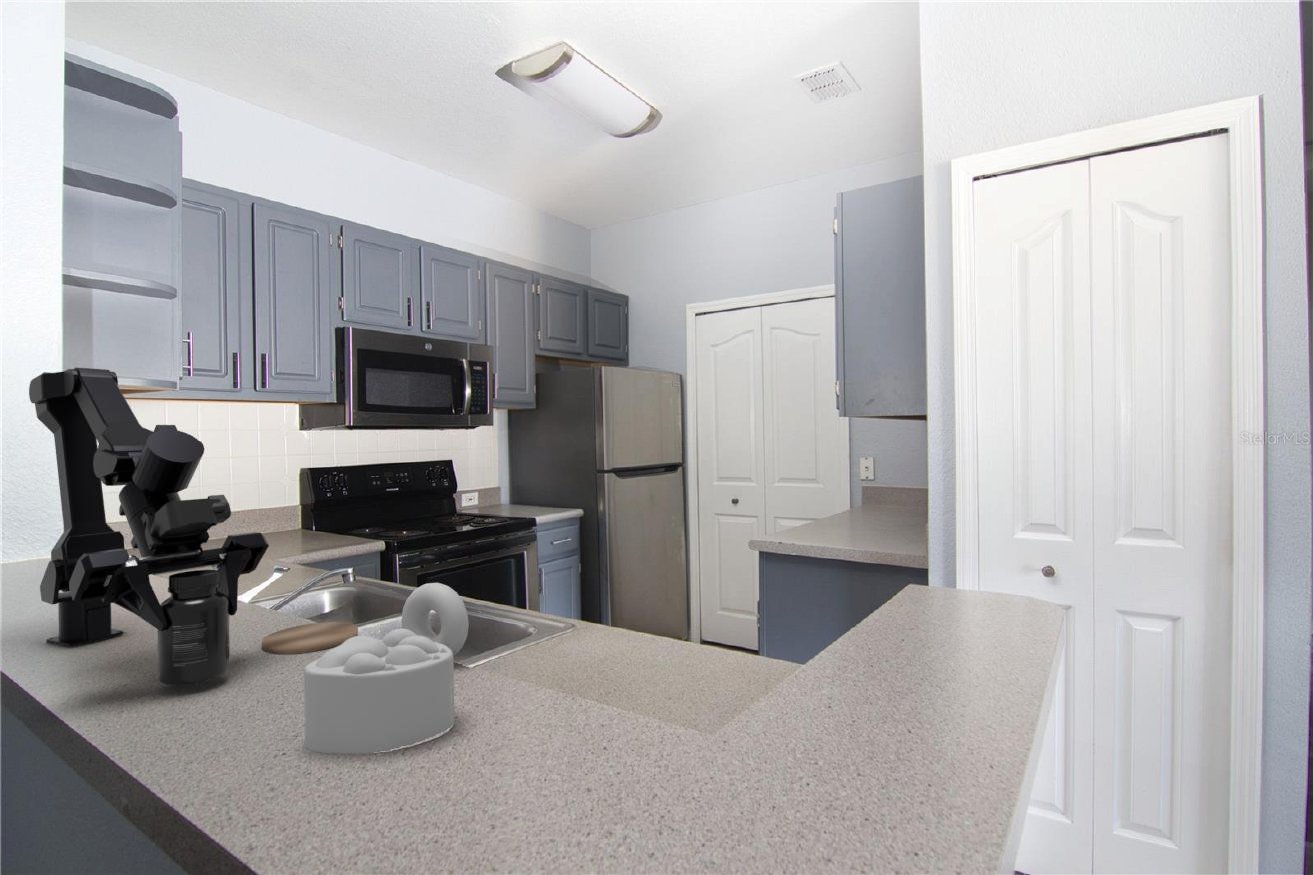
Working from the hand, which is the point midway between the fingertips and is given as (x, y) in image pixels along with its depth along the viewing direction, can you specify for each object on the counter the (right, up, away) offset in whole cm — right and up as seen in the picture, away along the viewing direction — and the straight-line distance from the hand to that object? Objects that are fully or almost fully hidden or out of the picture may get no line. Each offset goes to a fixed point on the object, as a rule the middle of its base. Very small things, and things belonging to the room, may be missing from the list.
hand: (200, 620), depth 74 cm
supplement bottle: (-1, -7, +1) cm, 7 cm away
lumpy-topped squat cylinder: (+26, -8, -11) cm, 30 cm away
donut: (+24, -8, +8) cm, 27 cm away
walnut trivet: (+3, -8, +17) cm, 19 cm away
